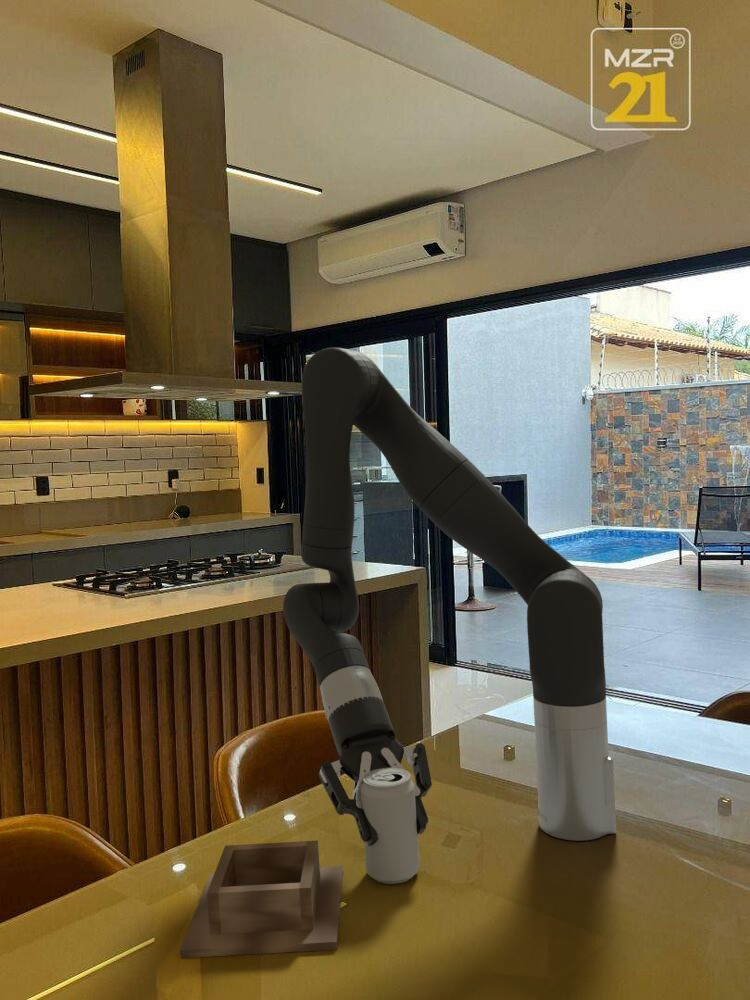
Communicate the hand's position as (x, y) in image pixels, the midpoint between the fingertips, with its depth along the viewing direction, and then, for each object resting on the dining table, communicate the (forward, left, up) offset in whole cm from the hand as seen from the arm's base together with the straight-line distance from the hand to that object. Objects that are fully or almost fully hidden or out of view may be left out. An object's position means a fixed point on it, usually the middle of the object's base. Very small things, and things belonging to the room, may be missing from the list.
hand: (397, 836), depth 101 cm
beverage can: (+1, -2, -5) cm, 6 cm away
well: (+15, +5, -5) cm, 17 cm away
